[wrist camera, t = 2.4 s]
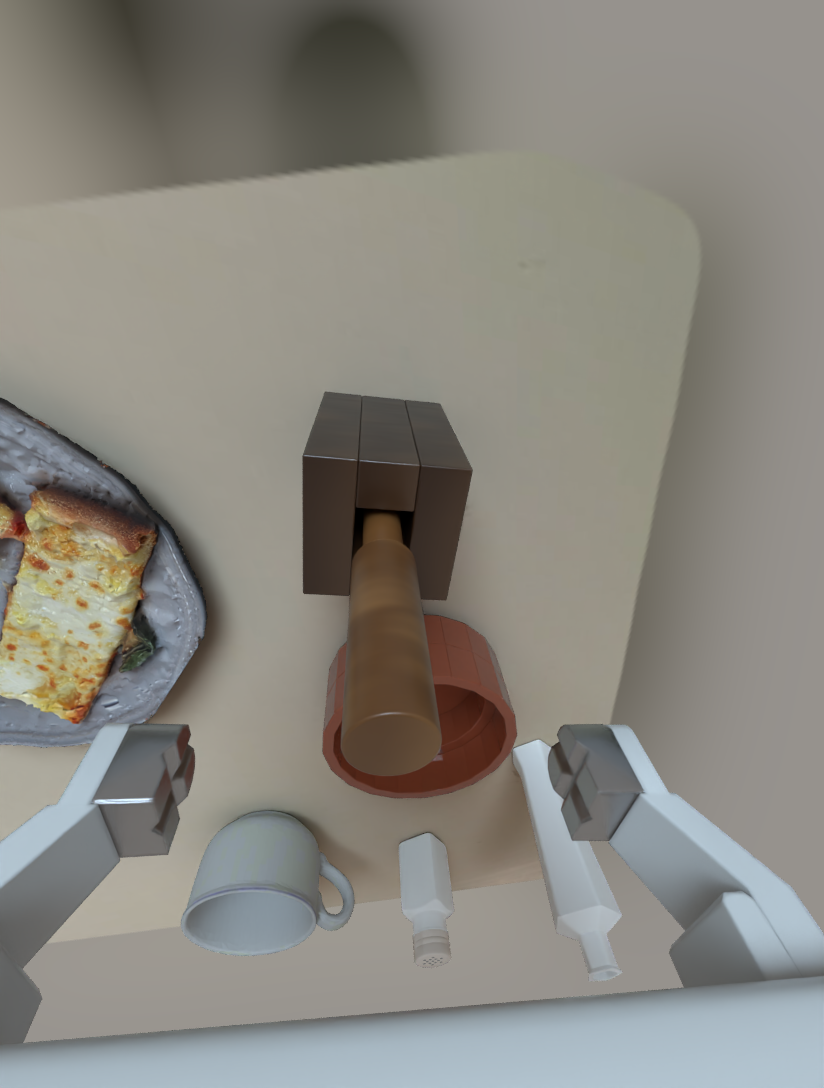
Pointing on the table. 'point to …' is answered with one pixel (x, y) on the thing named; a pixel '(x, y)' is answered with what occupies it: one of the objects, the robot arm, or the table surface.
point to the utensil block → (381, 487)
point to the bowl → (464, 714)
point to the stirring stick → (387, 658)
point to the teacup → (262, 888)
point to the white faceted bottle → (568, 868)
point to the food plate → (84, 592)
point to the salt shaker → (426, 897)
